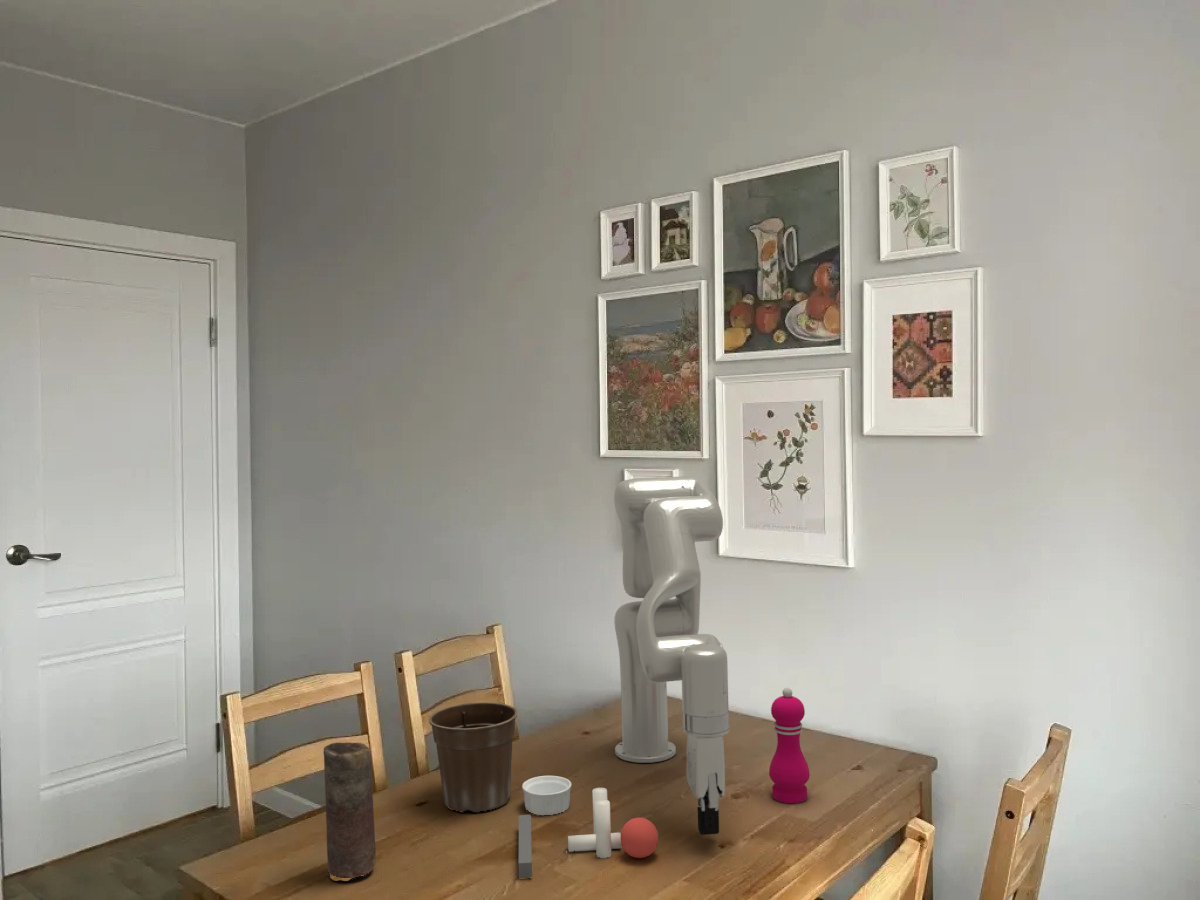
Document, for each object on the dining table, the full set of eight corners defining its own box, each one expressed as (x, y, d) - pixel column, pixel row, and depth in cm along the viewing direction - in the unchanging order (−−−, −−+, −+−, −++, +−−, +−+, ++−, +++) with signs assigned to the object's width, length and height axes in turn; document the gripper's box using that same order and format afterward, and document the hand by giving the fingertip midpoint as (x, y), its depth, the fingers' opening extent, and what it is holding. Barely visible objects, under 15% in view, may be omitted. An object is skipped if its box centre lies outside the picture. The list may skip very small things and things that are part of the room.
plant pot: (413, 803, 179) (410, 716, 178) (481, 777, 191) (478, 696, 190) (470, 826, 168) (467, 734, 167) (538, 798, 179) (535, 711, 179)
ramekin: (579, 801, 178) (578, 777, 178) (561, 820, 170) (560, 796, 169) (534, 796, 181) (533, 773, 181) (514, 815, 172) (514, 791, 172)
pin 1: (593, 838, 161) (591, 788, 161) (607, 837, 162) (606, 787, 161) (594, 844, 159) (592, 793, 159) (609, 843, 159) (607, 792, 159)
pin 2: (595, 852, 156) (594, 800, 156) (610, 851, 157) (609, 799, 156) (596, 858, 154) (595, 805, 154) (612, 857, 154) (610, 805, 154)
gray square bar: (519, 829, 166) (519, 815, 166) (531, 829, 166) (530, 814, 166) (519, 879, 148) (518, 863, 148) (532, 878, 148) (531, 862, 148)
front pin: (619, 842, 159) (568, 846, 159) (619, 829, 159) (567, 832, 158) (621, 851, 157) (569, 855, 156) (621, 837, 157) (568, 841, 156)
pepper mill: (810, 805, 172) (807, 694, 172) (769, 803, 174) (766, 693, 173) (809, 790, 179) (807, 683, 179) (770, 788, 181) (767, 682, 180)
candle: (333, 863, 155) (328, 739, 155) (379, 859, 156) (375, 736, 155) (323, 885, 148) (318, 755, 147) (372, 882, 148) (367, 753, 148)
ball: (615, 816, 154) (649, 804, 156) (614, 839, 157) (647, 827, 159) (630, 848, 149) (665, 835, 151) (629, 871, 153) (663, 858, 155)
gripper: (675, 709, 166) (678, 815, 166) (690, 737, 151) (694, 854, 151) (719, 706, 166) (721, 812, 167) (738, 735, 151) (741, 851, 152)
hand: (708, 832), depth 159 cm, fingers closed
